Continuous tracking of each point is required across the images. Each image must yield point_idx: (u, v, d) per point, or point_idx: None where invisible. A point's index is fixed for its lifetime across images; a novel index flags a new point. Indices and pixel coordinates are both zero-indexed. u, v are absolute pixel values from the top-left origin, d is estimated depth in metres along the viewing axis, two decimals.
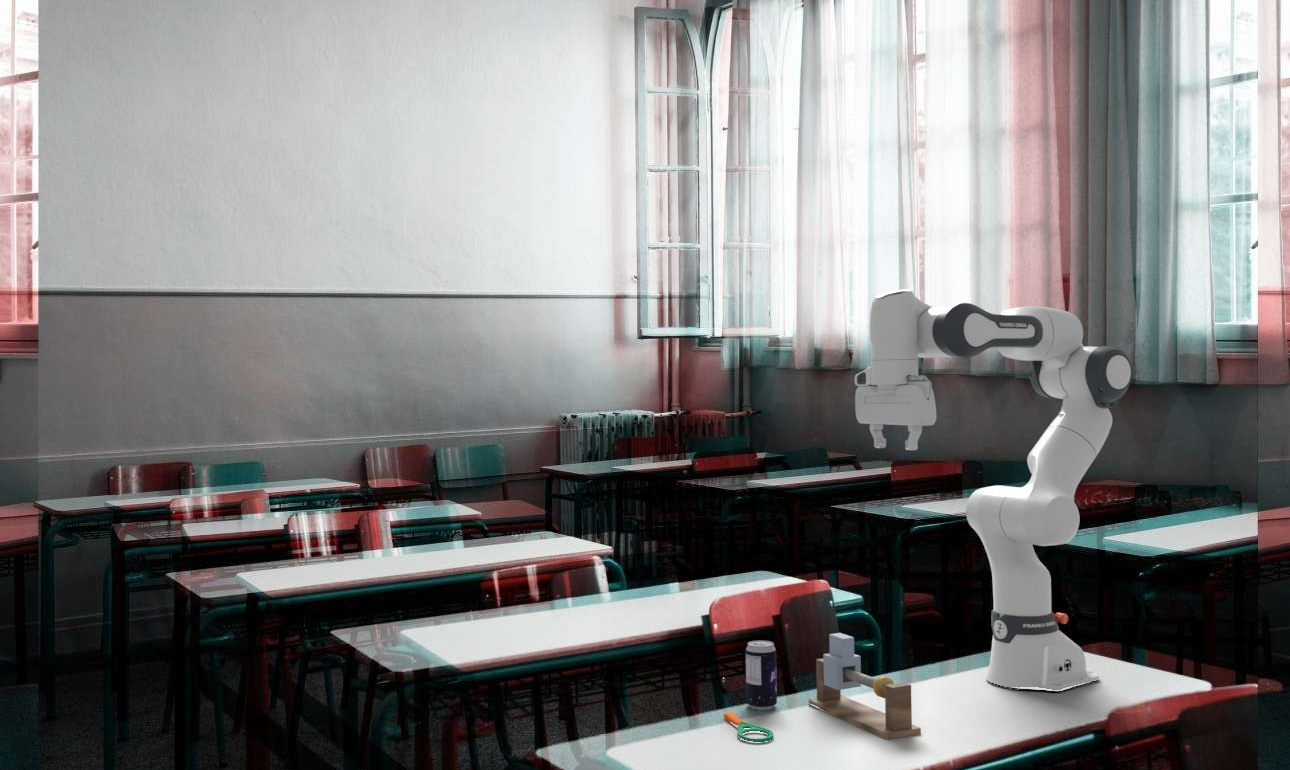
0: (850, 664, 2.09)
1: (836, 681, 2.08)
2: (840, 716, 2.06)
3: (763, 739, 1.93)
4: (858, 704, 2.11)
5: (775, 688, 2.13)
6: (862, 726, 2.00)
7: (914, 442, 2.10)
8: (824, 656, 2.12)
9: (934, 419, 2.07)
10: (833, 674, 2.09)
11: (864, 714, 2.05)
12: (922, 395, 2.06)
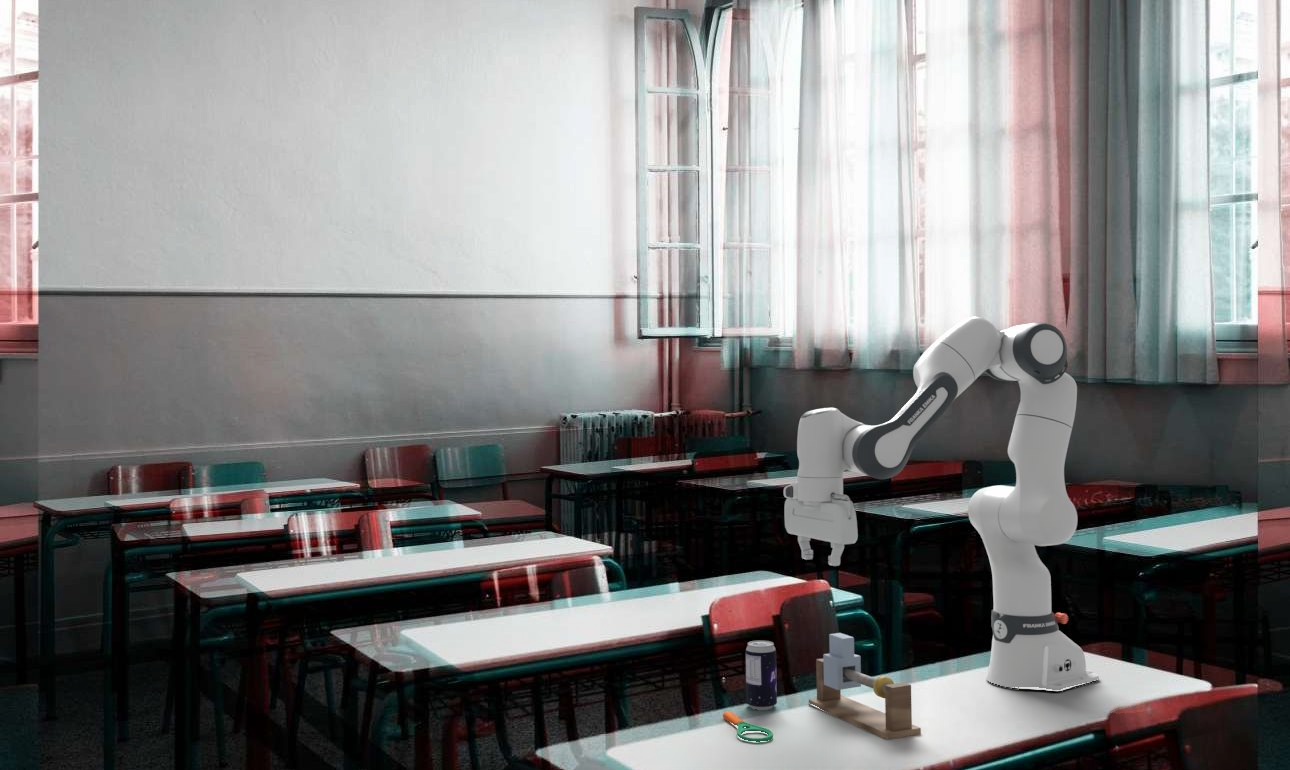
0: (850, 664, 2.09)
1: (836, 681, 2.08)
2: (840, 716, 2.06)
3: (763, 739, 1.93)
4: (858, 704, 2.11)
5: (775, 688, 2.13)
6: (862, 726, 2.00)
7: (837, 558, 2.17)
8: (824, 656, 2.12)
9: (855, 538, 2.13)
10: (833, 674, 2.09)
11: (864, 714, 2.05)
12: (843, 515, 2.13)
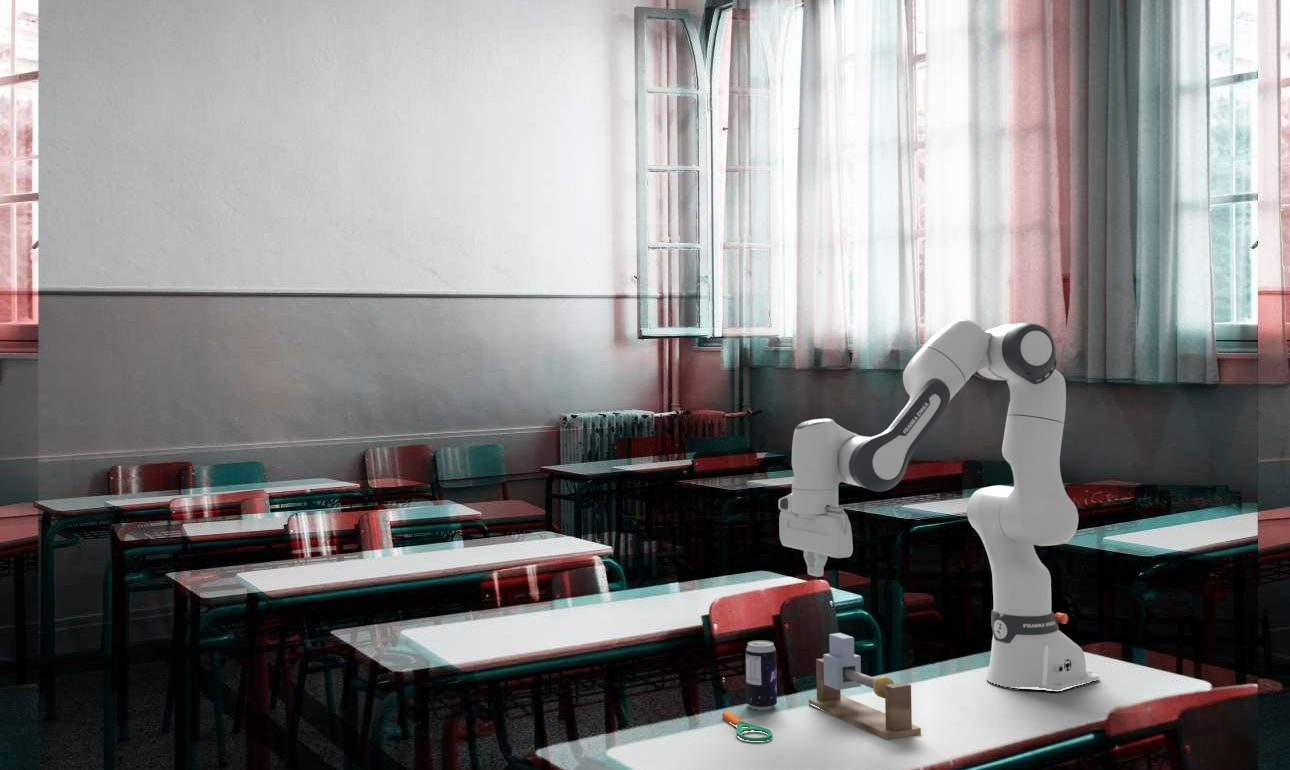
0: (850, 664, 2.09)
1: (836, 681, 2.08)
2: (840, 716, 2.06)
3: (762, 738, 1.93)
4: (858, 704, 2.11)
5: (775, 688, 2.13)
6: (862, 726, 2.00)
7: (820, 569, 2.17)
8: (824, 656, 2.12)
9: (850, 551, 2.10)
10: (833, 674, 2.09)
11: (864, 714, 2.05)
12: (838, 528, 2.09)
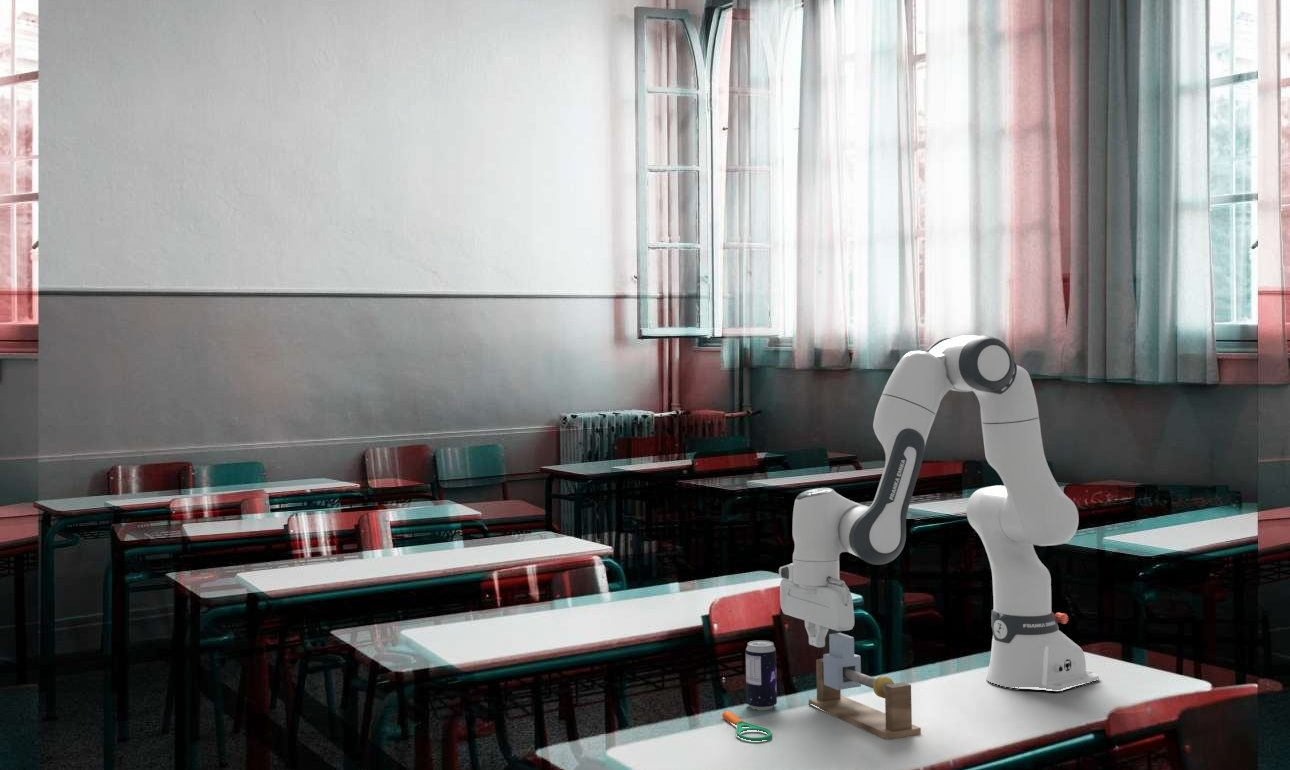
0: (850, 664, 2.09)
1: (836, 681, 2.08)
2: (840, 716, 2.06)
3: (762, 738, 1.93)
4: (858, 704, 2.11)
5: (775, 688, 2.13)
6: (862, 726, 2.00)
7: (821, 639, 2.17)
8: (824, 656, 2.12)
9: (852, 624, 2.10)
10: (833, 674, 2.09)
11: (864, 714, 2.05)
12: (840, 601, 2.09)
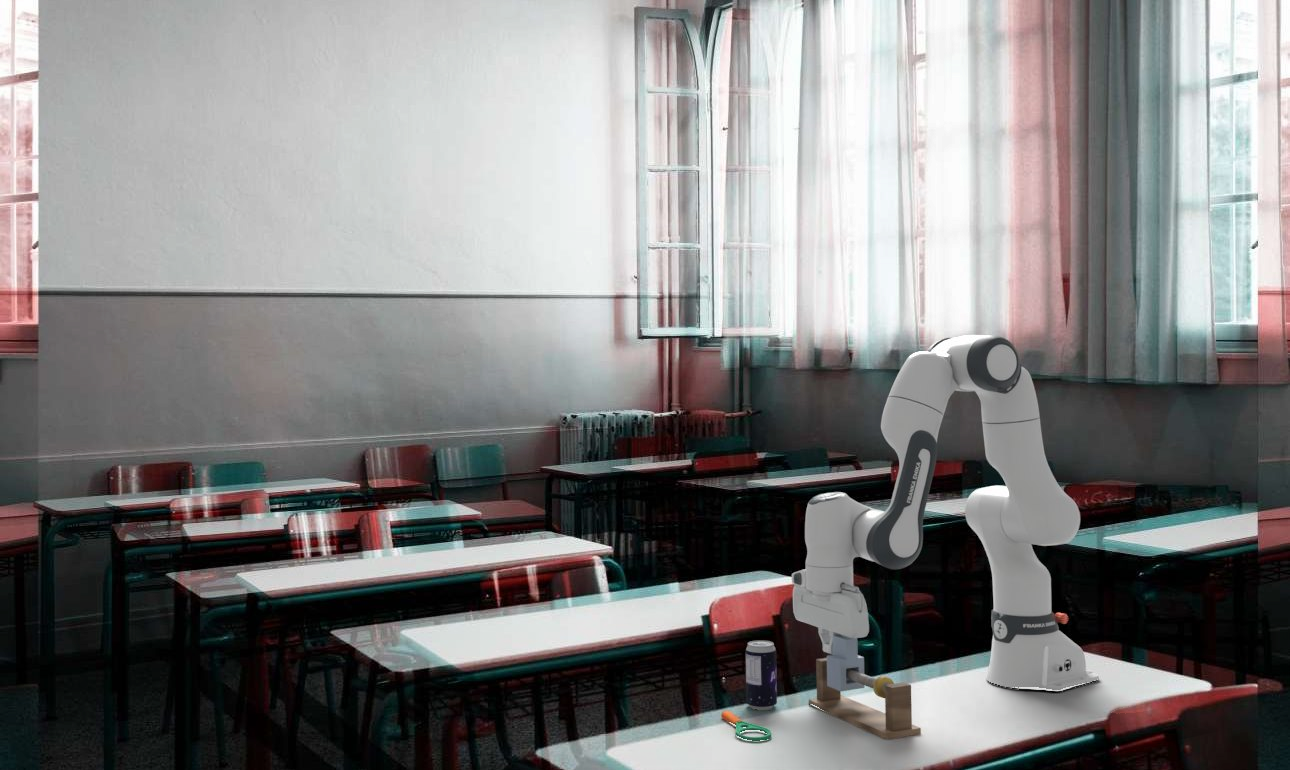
0: (853, 665, 2.08)
1: (839, 682, 2.07)
2: (840, 716, 2.06)
3: (761, 738, 1.93)
4: (858, 704, 2.11)
5: (775, 688, 2.13)
6: (862, 726, 2.00)
7: None
8: (827, 657, 2.11)
9: (866, 631, 2.06)
10: (836, 675, 2.08)
11: (864, 714, 2.05)
12: (854, 608, 2.05)
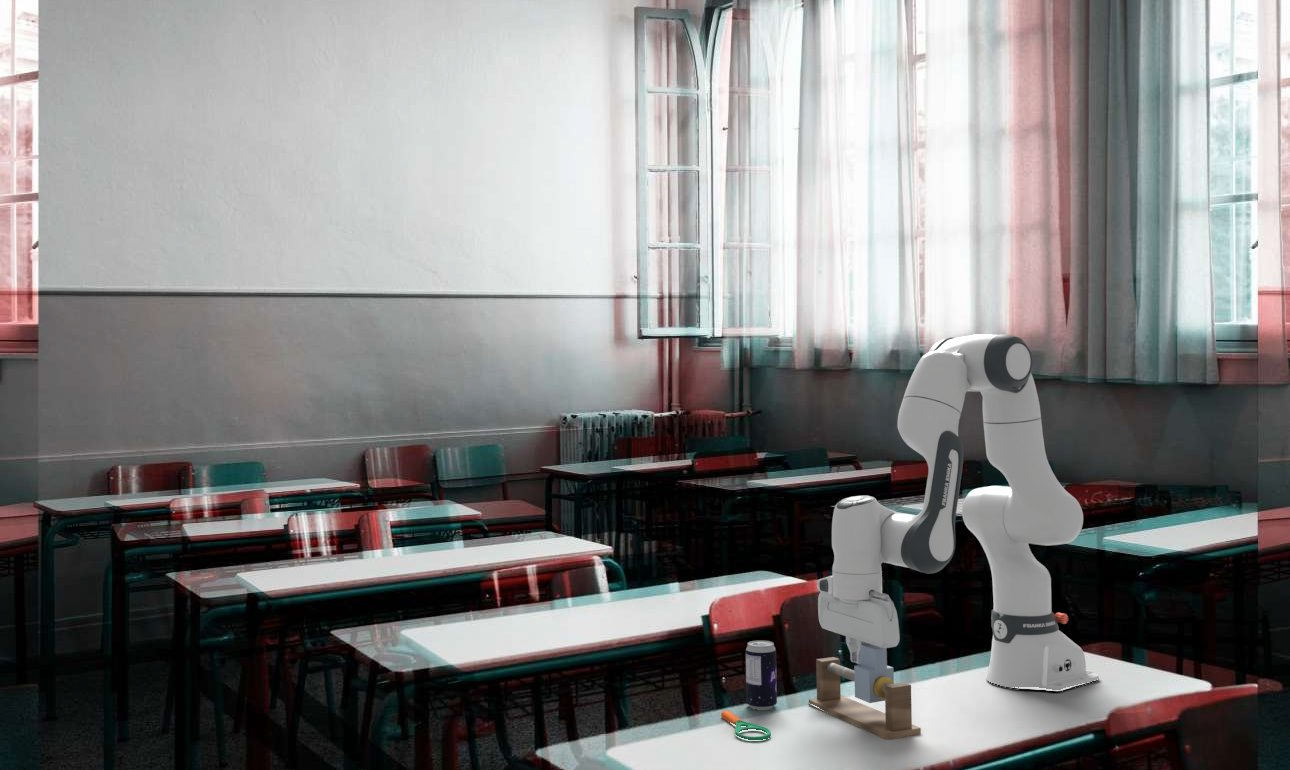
0: None
1: (868, 694, 1.99)
2: (840, 716, 2.06)
3: (760, 737, 1.94)
4: (858, 704, 2.11)
5: (775, 688, 2.13)
6: (862, 726, 2.00)
7: None
8: (855, 667, 2.03)
9: (897, 641, 1.98)
10: (865, 686, 2.00)
11: (864, 714, 2.05)
12: (884, 617, 1.97)
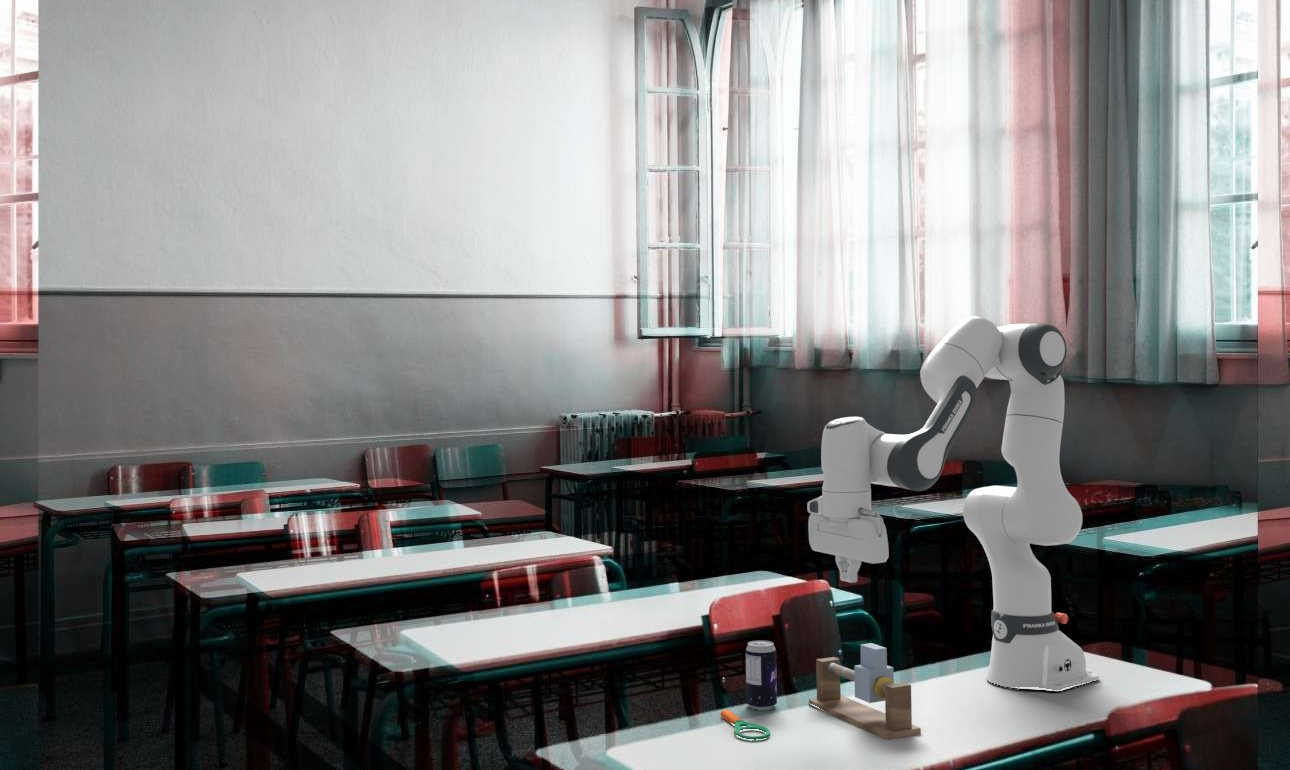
0: None
1: (868, 694, 1.99)
2: (840, 716, 2.06)
3: (760, 737, 1.94)
4: (858, 704, 2.11)
5: (775, 688, 2.13)
6: (862, 726, 2.00)
7: (853, 574, 2.08)
8: (855, 667, 2.03)
9: (886, 556, 2.00)
10: (865, 686, 2.00)
11: (864, 714, 2.05)
12: (873, 532, 2.00)
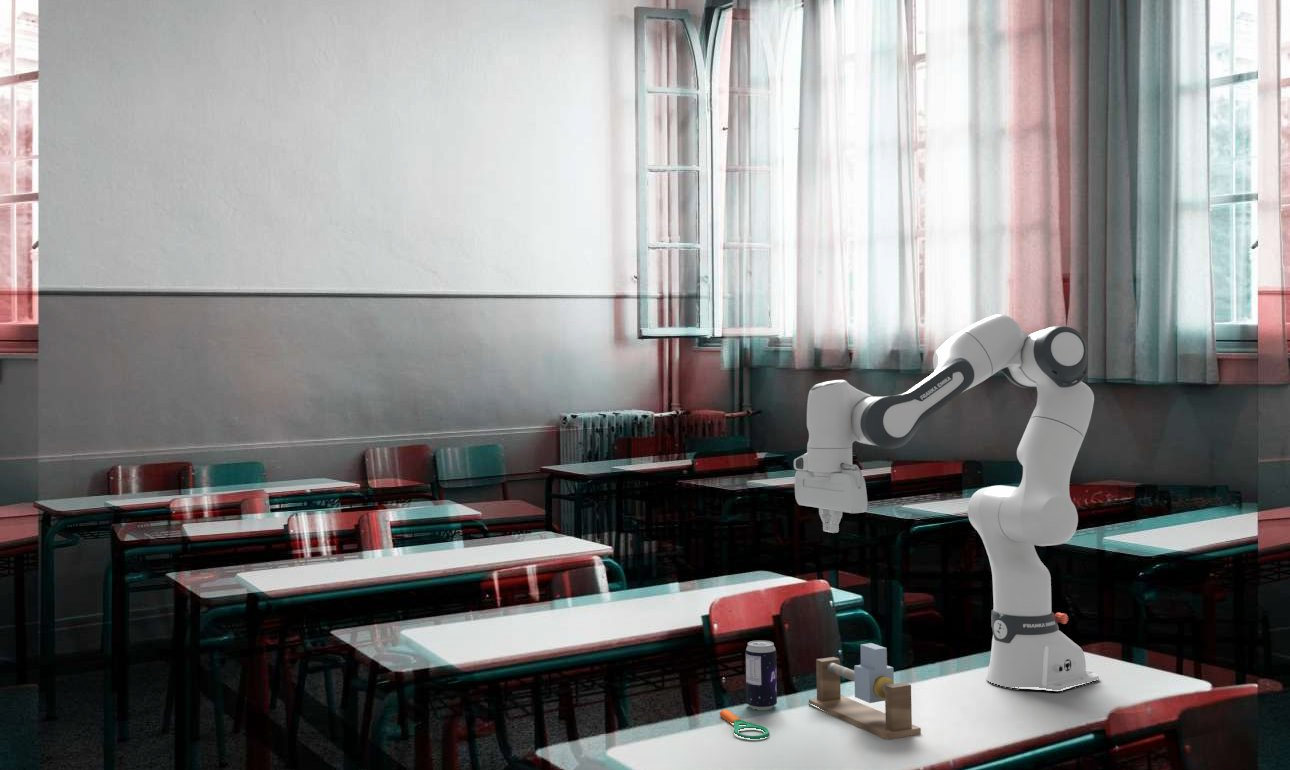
0: None
1: (868, 694, 1.99)
2: (840, 716, 2.06)
3: (759, 736, 1.94)
4: (858, 704, 2.11)
5: (775, 688, 2.13)
6: (862, 726, 2.00)
7: (835, 525, 2.24)
8: (855, 667, 2.03)
9: (865, 507, 2.17)
10: (865, 686, 2.00)
11: (864, 714, 2.05)
12: (853, 484, 2.17)
